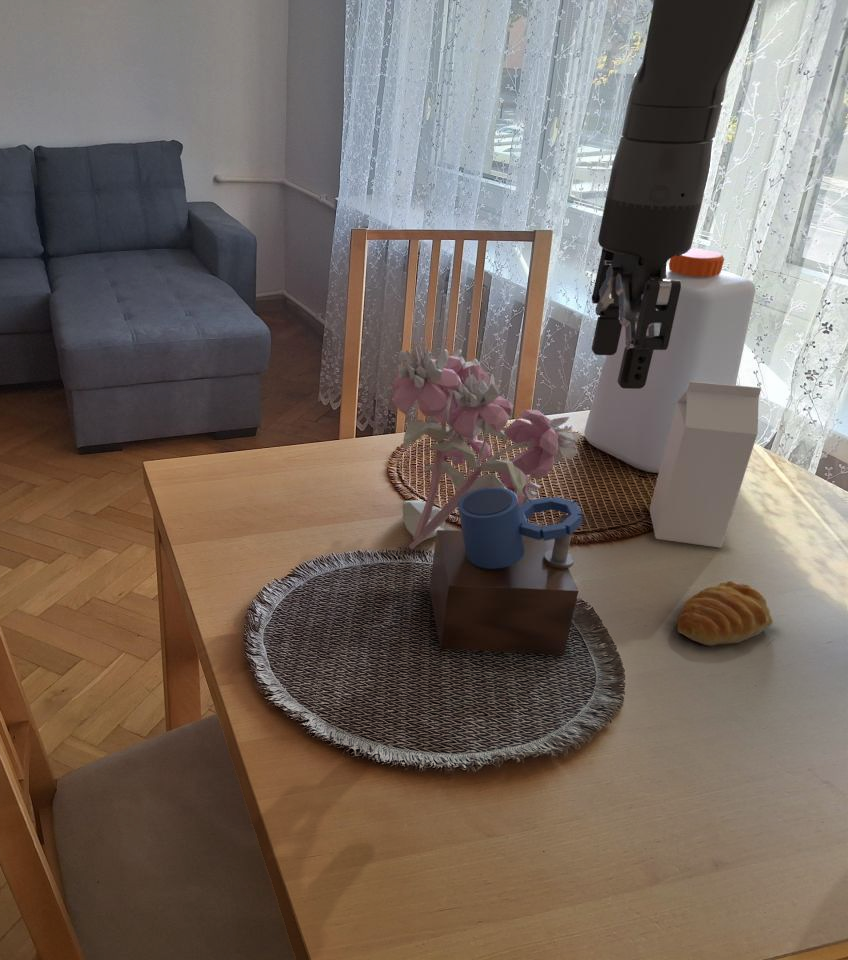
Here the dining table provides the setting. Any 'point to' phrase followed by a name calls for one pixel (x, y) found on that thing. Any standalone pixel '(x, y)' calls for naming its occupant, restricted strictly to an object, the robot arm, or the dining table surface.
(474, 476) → the flower
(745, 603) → the pastry
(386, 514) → the dining table surface
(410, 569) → the dining table surface
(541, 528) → the blue mug
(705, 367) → the plastic bottle
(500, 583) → the walnut box
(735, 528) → the dining table surface
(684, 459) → the milk carton
